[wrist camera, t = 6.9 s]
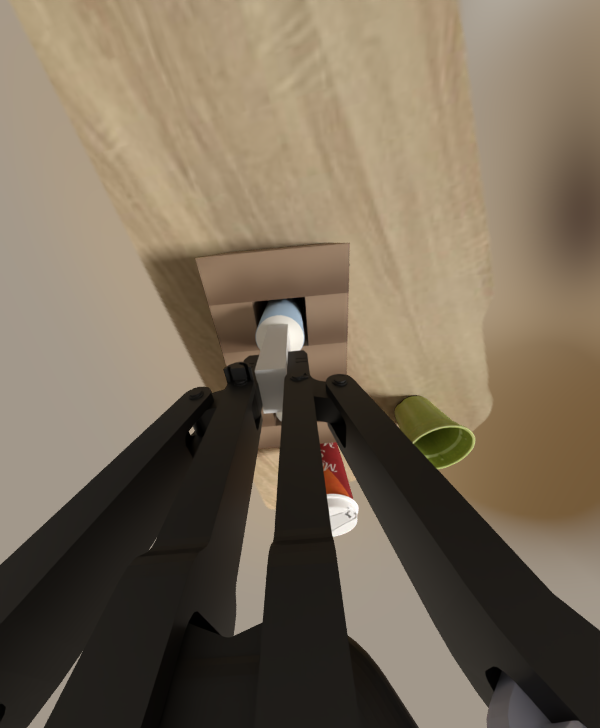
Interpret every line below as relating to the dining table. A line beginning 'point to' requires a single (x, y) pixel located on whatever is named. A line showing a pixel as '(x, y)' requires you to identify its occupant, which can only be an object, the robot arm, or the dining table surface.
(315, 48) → the dining table surface
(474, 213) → the dining table surface
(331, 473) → the coffee cup
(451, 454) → the plant pot
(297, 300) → the peg
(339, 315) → the collar block
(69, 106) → the dining table surface
